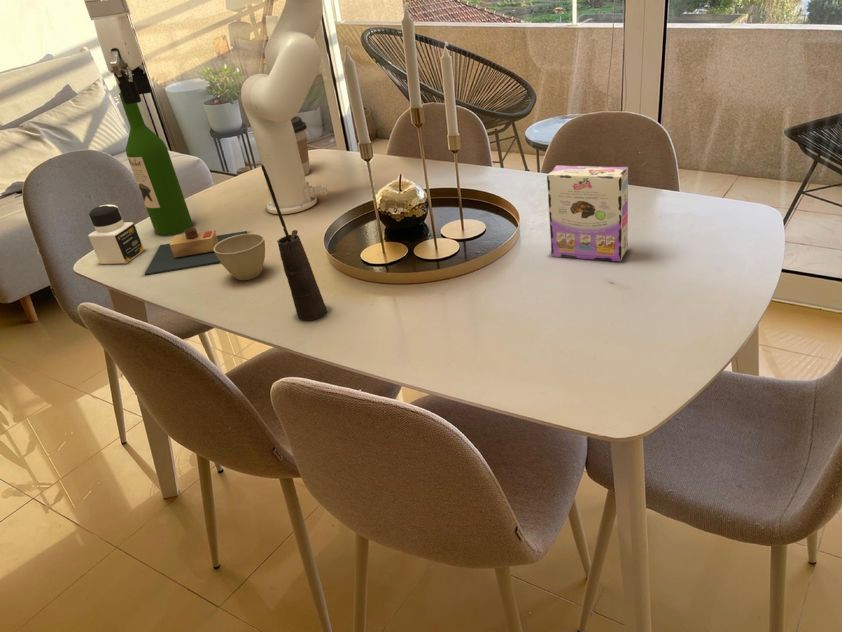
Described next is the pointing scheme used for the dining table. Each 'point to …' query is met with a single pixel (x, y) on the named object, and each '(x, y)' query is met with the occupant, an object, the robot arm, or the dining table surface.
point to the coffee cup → (301, 142)
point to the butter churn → (298, 271)
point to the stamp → (193, 243)
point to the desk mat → (167, 262)
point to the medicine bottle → (113, 236)
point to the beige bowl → (242, 255)
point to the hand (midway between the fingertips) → (139, 98)
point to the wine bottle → (155, 176)
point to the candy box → (588, 212)
